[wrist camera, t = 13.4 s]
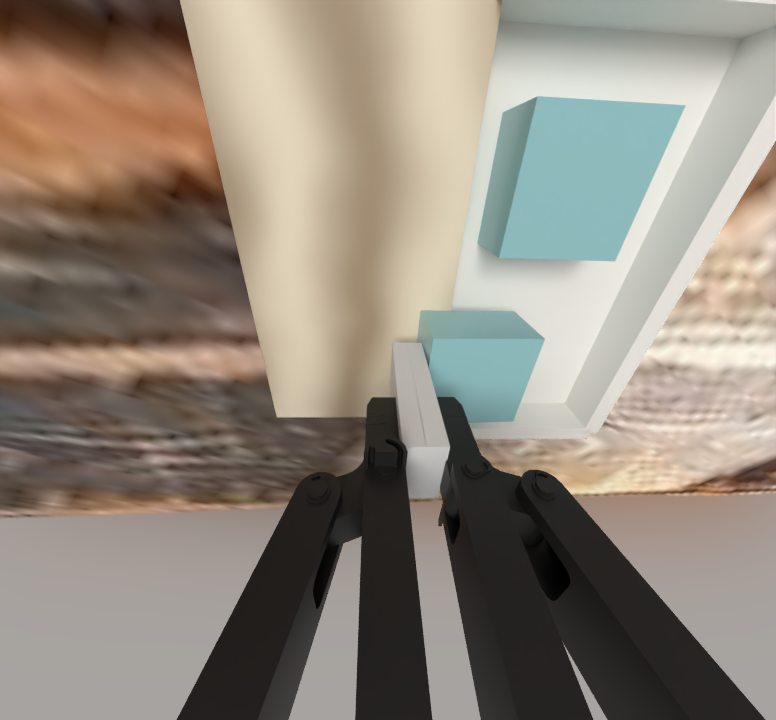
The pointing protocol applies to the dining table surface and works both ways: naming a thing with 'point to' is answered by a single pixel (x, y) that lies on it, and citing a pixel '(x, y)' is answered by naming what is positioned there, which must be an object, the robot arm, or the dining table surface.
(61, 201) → the dining table surface
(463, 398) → the tile
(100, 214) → the dining table surface
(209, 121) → the board
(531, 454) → the dining table surface
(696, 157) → the tray
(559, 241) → the tile
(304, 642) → the robot arm
